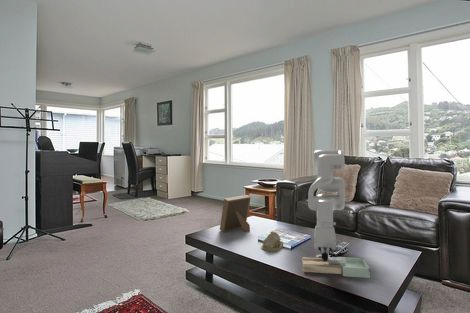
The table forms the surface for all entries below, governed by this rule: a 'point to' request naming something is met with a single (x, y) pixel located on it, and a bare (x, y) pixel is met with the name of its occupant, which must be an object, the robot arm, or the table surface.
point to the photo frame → (235, 213)
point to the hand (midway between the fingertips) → (324, 260)
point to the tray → (355, 268)
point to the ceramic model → (272, 242)
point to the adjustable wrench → (330, 255)
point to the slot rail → (319, 266)
